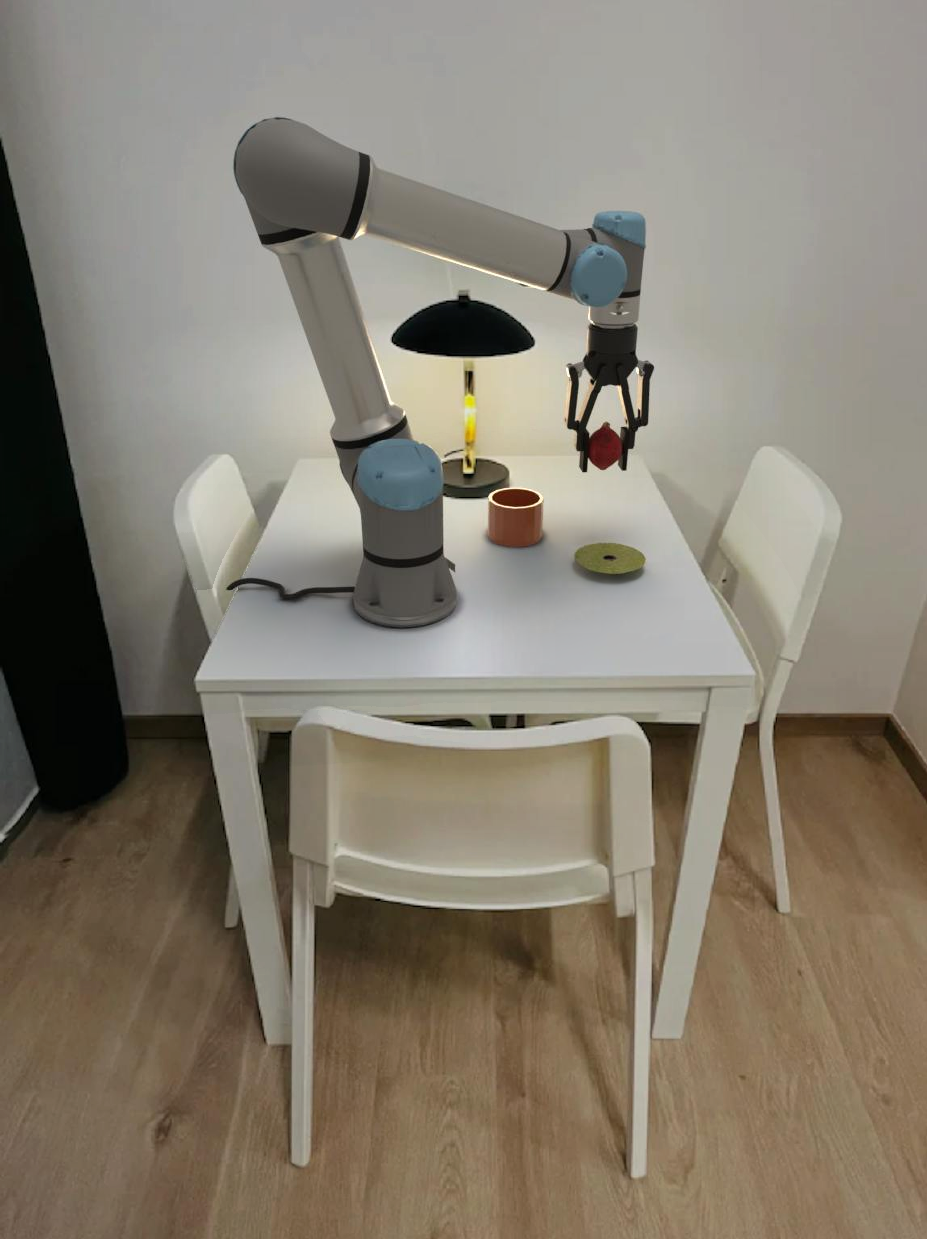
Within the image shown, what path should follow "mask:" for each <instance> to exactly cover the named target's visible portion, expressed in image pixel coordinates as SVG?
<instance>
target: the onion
mask: <svg viewBox="0 0 927 1239" xmlns="http://www.w3.org/2000/svg"><path fill="white" fill-rule="evenodd" d="M621 453H622V442H621V439H620V434H618V433H617V432H616V431H615V430H614V429H612V428H611V423H610V422H608V421H605V422H603V424H602V425H601V427H600V428H598V429H596V430H595V431H594V432H592V434H591V435H590V436H589V452H588V461H590V463H591V464H592V465H593V466H594V467H596V468H597V469H599V470H600V471H605V470H607V469H608V468H610V467H611V466H613V465H614V464H615V463H617V462H618V459H619V458H620V456H621Z"/></svg>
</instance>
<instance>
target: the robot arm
mask: <svg viewBox="0 0 927 1239" xmlns="http://www.w3.org/2000/svg"><path fill="white" fill-rule="evenodd" d="M232 167H233V168H232V169H233V176H234V179H235V180H234V181H235V183H236V185H237V188H238V191H239V192H240V194H241V195H242V196H243V198H244V201H245V204H246V206H247V209H248V212H249V215H250V216H251V220H252V223H253V225H254V228H255V230H256V231H255V232H256V233H257V236H258V239H259V242H260V245H261V247H263V249H266V250H268V251H269V252H271V253H272V254H275V255H276V257H277V258H278V261H279V264H280V267H281V269H282V272H283V275H284V278H285V280H286V284H287V286H288V289H289V291H290V295H291V298H292V300H293V303H294V306H295V310H296V311H297V315H298V317H299V321H300V323H301V327H302V328H303V331H304V334H305V337H306V340H307V342H308V345H309V348H310V351H311V354H312V356H313V360H314V362H315V365H316V368H317V371H318V374H319V376H320V379H321V382H322V384H323V388H324V391H325V393H326V396H327V398H328V402H329V404H330V407H331V411H332V413H333V415H334V421H333V424H332V425H331V428H330V430H329V435H330V438H331V440H332V443H333V446H334V449H335V451H336V454H337V458H338V461H339V469H340V471H341V474H342V477H343V479H344V481H345V482H346V483H347V485H348V487H349V489H350V491H351V493H352V495H353V497H354V499H355V501H356V504H357V505H358V508H359V513H360V521H361V523H360V524H361V537H362V553H363V554H362V555H363V556H362V562H361V564H360V569H359V572H358V574H357V579H356V582H355V585H353V586H320V587H319V586H317V587H316V586H315V587H308V588H303V589H300V590H298V591H296V592H292V593H286V590H285V587H284V586H283V585H282V584H281V583H278V582H275V581H272V580H268V579H263V578H260V577H259V578H257V577H245V578H240V579H236V580H235V581H233V582H231V583H230V584H229V585H228V586H227V587H226V588H225V590H226V591H233V590H234V589H236V588H238V587H240V586H243V585H247V584H248V585H260V586H265V587H269V588H272V589H275V590H278V595H279V597H280V598H281V600H286V601H294V600H296V599H299V598H301V597H304V596H306V595H311V594H312V595H313V594H345V593H346V594H347V593H349V594H351V593H353V606H354V609H355V612H356V613H357V614H358V615H359V616H360V617H361V618H363V619H364V620H366V621H368V622H371V623H373V624H376V625H380V626H385V627H391V628H392V627H393V628H413V627H421V626H426V625H429V624H434V623H436V622H438V621H440V620H443V619H444V618H446V617H447V616H449V615H450V614H451V613H452V612H453V611H454V610H455V608H456V606H457V602H458V598H457V597H458V596H457V595H458V594H457V593H458V592H457V587H456V584H455V581H454V578H453V575H452V573H451V571H452V572H454V573H456V564H455V563H454V562H452V561H451V560H449V559H448V558H447V557H445V552H444V551H445V550H444V485H445V484H444V483H445V479H444V478H445V475H444V471H443V464H442V460H441V457H440V455H439V454H438V452H437V451H436V450H435V449H434V448H433V447H431V446H430V445H428V444H426V443H424V442H423V443H422V442H421V443H419V441H418V440H415V439H414V436H413V434H412V430H411V426H410V423H409V421H408V418H407V417H408V416H407V415H406V411H405V409H404V407H403V406H401V405H399V404H397V403H395V402H393V401H392V400H391V397H390V394H389V391H388V388H387V385H386V381H385V378H384V375H383V373H382V369H381V366H380V365H381V364H380V362H379V359H378V356H377V353H376V350H375V346H374V343H373V340H372V337H371V334H370V331H369V327H368V325H367V320H366V318H365V315H364V312H363V309H362V305H361V302H360V299H359V296H358V293H357V290H356V287H355V283H354V281H353V280H354V279H353V277H352V274H351V271H350V267H349V265H348V262H347V258H346V255H345V252H344V248H343V245H342V242H341V239H345V240H348V241H353V240H355V239H357V238H358V237H360V236H366V237H369V238H371V239H376V240H378V241H382V242H386V243H388V244H392V245H396V246H399V247H401V248H405V249H407V250H408V249H409V250H411V251H414V252H415V251H416V252H418V253H420V254H425V255H427V256H430V257H431V256H432V257H434V258H437V259H441V260H445V261H447V262H450V263H454V264H457V265H460V266H464V267H467V268H471V269H474V270H476V271H480V272H484V273H486V274H490V275H493V276H497V277H500V278H503V279H507V280H509V281H513V282H515V283H516V284H517V286H518V287H520V288H534V289H539V290H542V291H546V292H548V293H550V294H553V295H557V296H560V297H562V298H563V297H564V298H567V299H570V300H573V301H575V302H577V303H578V304H580V305H582V306H585V307H588V317H587V318H588V320H589V321H590V322H591V323H589V325H587V333H586V336H587V337H586V351H585V355H584V356H583V358H582V361H578V362H576V363H574V364H573V363H571V362H569V363H567V364H566V365H565V370H566V371H565V372H566V374H567V375H566V376H567V379H568V380H567V389H566V397H565V407H564V417H563V423H564V425H565V427H566V429H567V430H570V431H571V430H572V431H574V442H573V446H574V449H575V450H576V452H579V461H578V462H579V463H578V467H579V469H580V471H581V472H582V473H588V465H589V459H588V452H589V438H590V436H591V435H590V432H589V430H588V429H587V426H588V424H589V420H590V418H591V415H592V412H593V410H594V408H595V404H596V401H597V399H598V396H599V394H600V393H601V391H602V388H603V387H607V386H615V387H616V388H617V391H618V396H619V400H620V404H621V409H622V413H623V418H624V422H625V426H620V431H619V432H620V433H619V437H620V439H621V442H622V453H621V456H620V458H619V459H618V461H617V466H618V467H619V469H620V470H621V472H625V471H627V469H628V458H629V450H634V448H635V444H636V432H638V431H639V429H640V428H641V427H647V426H648V425H649V417H650V416H649V414H650V413H649V412H650V392H651V391H650V389H651V388H650V386H651V385H650V384H651V378H652V376H653V373H654V370H655V365H654V364H652V363H651V362H650V360H642V359H641V360H640V359H639V358H638V355H637V352H636V351H637V342H638V331H639V330H638V329H639V327H638V326H637V324H636V323H637V322H638V321H639V318H640V304H641V293H642V291H641V290H642V279H643V268H644V259H645V249H646V248H647V245H646V236H647V233H646V232H647V228H646V227H647V226H646V217H645V216H644V215H643V214H641V213H640V212H637V211H632V210H631V211H630V210H607V211H600V212H597V213H596V214H595V215H594V217H593V223H592V226H591V227H587V228H582V229H580V228H579V229H558V228H555V227H552V226H549V225H546V224H543V223H540V222H537V221H534V220H531V219H528V218H525V217H523V216H520V215H516V214H513V213H511V212H508V211H505V210H502V209H499V208H496V207H493V206H490V205H488V204H484V203H481V202H478V201H476V200H474V199H473V200H472V199H470V198H467V197H464V196H461V195H458V194H455V193H452V192H449V191H446V190H443V189H441V188H437V187H436V186H435V187H434V186H432V185H428V184H425V183H423V182H420V181H417V180H414V179H411V178H408V177H405V176H402V175H399V174H397V173H393V172H390V171H388V170H384V169H381V168H379V167H378V166H377V165H376V163H375V161H374V159H373V157H372V156H371V155H370V154H366V153H364V152H361V151H358V150H356V149H353V148H351V147H348V146H346V145H344V144H342V143H340V142H338V141H336V140H334V139H332V138H330V137H328V136H327V135H325V134H323V133H321V132H320V131H318V130H317V129H314V128H313V127H312V126H310V125H308V124H306V123H303V122H302V121H301V122H300V121H298V120H294V119H292V118H287V117H285V116H284V117H283V116H275V117H270V118H263V119H261V120H260V121H258V122H255V123H253V124H252V125H251V126H250V127H249V128H247V129H246V130H245V131H244V132H243V134H242V136H241V137H240V138H239V140H238V142H237V144H236V147H235V150H234V154H233V166H232ZM340 238H341V239H340ZM635 369H636V373H637V374H638V376H637V397H636V398H637V400H636V404H637V405H636V416H635V411H634V407H633V402H632V398H631V393H630V385H629V380H628V378H629V377H630V375H631V374H632V373H633V372H634V371H635ZM584 370H585V372H587V374H588V376H589V380H588V383H587V389H586V391H585V394H584V398H583V400H582V403H581V406H580V409H579V411H578V414H577V406H578V399H579V398H578V396H579V388H580V378H582V376H583V371H584ZM576 415H577V417H576Z"/></svg>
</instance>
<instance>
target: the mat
mask: <svg viewBox="0 0 927 1239" xmlns="http://www.w3.org/2000/svg"><path fill="white" fill-rule="evenodd" d="M573 557H574V560H575V562H576V563H577V564H579V565H580V566H582V567H583V568H585V569H587V570H589V571H592V572H595V573H596V572H597V573H601V574H602V573H603V574H610V575H611V574H612V575H616V574H617V575H620V574H626V573H631V572H635V571H636V570H639V569H641V568H642V567H643V566H644V565H645V563H646V556H645V554H644V553H642V551H640V550H639V549H636V548H635V547H632V546H629V545H626V544H623V543H618V542H596V543H590V544H586V545H584V546H581V547H579V548H577V549H576V551H575V552H574V554H573Z"/></svg>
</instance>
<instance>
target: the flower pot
mask: <svg viewBox="0 0 927 1239" xmlns="http://www.w3.org/2000/svg"><path fill="white" fill-rule="evenodd" d="M544 500H545V499H544V496H543V494H541V493H540V492H538V491H536V490H534V489H530V488H525V487H505V488H501V489H500V488H499V489H496V490H494V491H492V492H491V493H489V495H488V496H487V537H488V539H489V540H490V541H492V543H494V544H497V545H499V546H503V547H510V548H523V547H529V546H533V545H535V544H537V543H538V542H540V541H541V539H542V537H543V536H542V535H543V527H544V526H543V525H544V524H543V523H544V522H543V521H544V505H545V504H544V502H545V501H544Z"/></svg>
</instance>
